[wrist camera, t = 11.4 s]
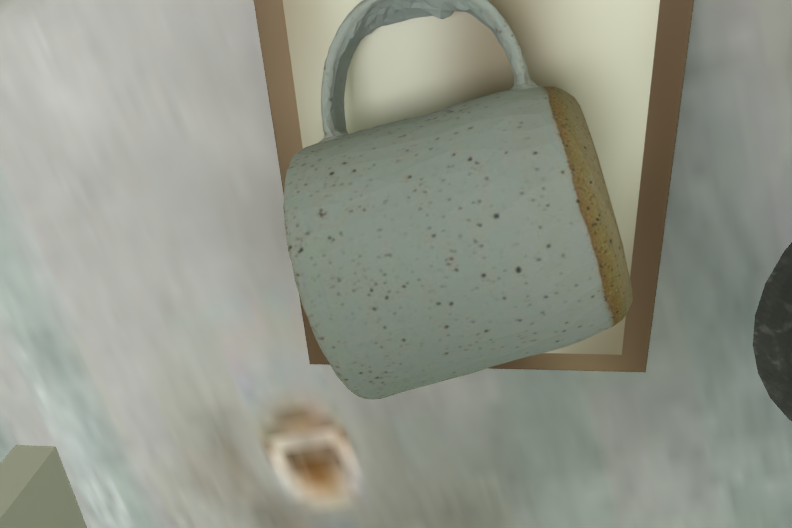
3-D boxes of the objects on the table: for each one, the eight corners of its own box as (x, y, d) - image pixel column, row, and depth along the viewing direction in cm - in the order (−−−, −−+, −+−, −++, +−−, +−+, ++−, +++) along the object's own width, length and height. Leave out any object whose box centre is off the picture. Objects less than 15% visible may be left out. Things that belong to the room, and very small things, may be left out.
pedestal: (339, 287, 34) (308, 368, 28) (297, -57, 26) (244, -38, 21) (621, 289, 32) (647, 377, 26) (658, -80, 24) (705, -65, 19)
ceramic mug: (619, 251, 24) (665, 394, 17) (395, 310, 26) (359, 456, 19) (530, -72, 20) (545, -51, 13) (273, 32, 22) (172, 96, 15)
